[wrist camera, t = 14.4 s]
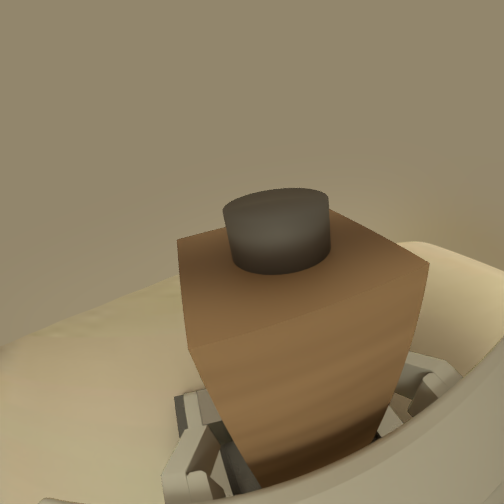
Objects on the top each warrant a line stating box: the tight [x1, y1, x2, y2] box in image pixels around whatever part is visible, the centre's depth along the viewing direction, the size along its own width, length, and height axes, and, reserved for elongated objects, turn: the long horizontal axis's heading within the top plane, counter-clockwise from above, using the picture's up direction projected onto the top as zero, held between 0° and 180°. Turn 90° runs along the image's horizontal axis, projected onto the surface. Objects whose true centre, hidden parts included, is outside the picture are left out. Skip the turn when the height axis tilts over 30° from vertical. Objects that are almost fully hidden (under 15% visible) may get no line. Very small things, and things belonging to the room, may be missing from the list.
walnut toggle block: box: [177, 188, 430, 489], centre depth 9 cm, size 5×5×14 cm
